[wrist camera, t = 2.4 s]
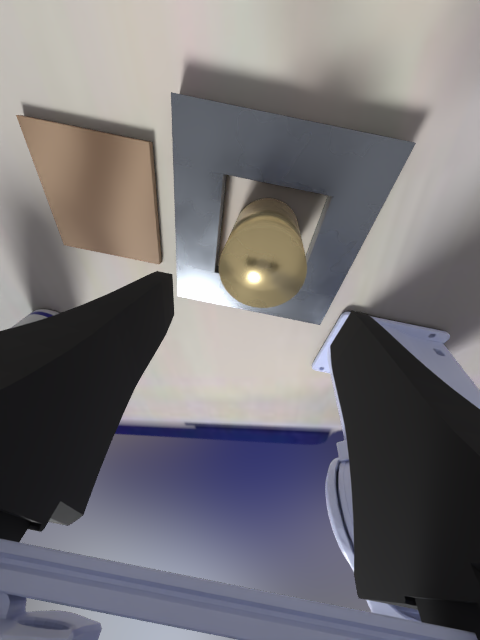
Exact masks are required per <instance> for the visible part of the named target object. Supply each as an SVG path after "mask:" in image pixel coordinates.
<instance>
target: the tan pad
mask: <svg viewBox="0 0 480 640" xmlns="http://www.w3.org/2000/svg"><path fill="white" fill-rule="evenodd" d="M16 116H17V119H18V121H19V124H20V127H21V129H22V132H23V135H24V138H25V140H26V143H27V146H28V148H29V151H30V154H31V157H32V159H33V162H34V165H35V167H36V170H37V173H38V176H39V178H40V181H41V184H42V186H43V189H44V192H45V195H46V197H47V200H48V203H49V205H50V208H51V211H52V214H53V216H54V219H55V222H56V224H57V227H58V230H59V233H60V235H61V238H62V241H63V243H64V245H67V246H71V247H76V248H81V249H86V250H91V251H96V252H101V253H106V254H111V255H116V256H121V257H125V258H130V259H135V260H140V261H145V262H150V263H155V264H160V263H161V262H162V257H161V244H160V231H159V219H158V206H157V193H156V180H155V168H154V155H153V142H150V141H145V140H140V139H135V138H130V137H125V136H120V135H116V134H111V133H106V132H101V131H96V130H91V129H86V128H81V127H77V126H72V125H67V124H62V123H57V122H52V121H47V120H43V119H38V118H33V117H28V116H22V115H16Z"/></svg>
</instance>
